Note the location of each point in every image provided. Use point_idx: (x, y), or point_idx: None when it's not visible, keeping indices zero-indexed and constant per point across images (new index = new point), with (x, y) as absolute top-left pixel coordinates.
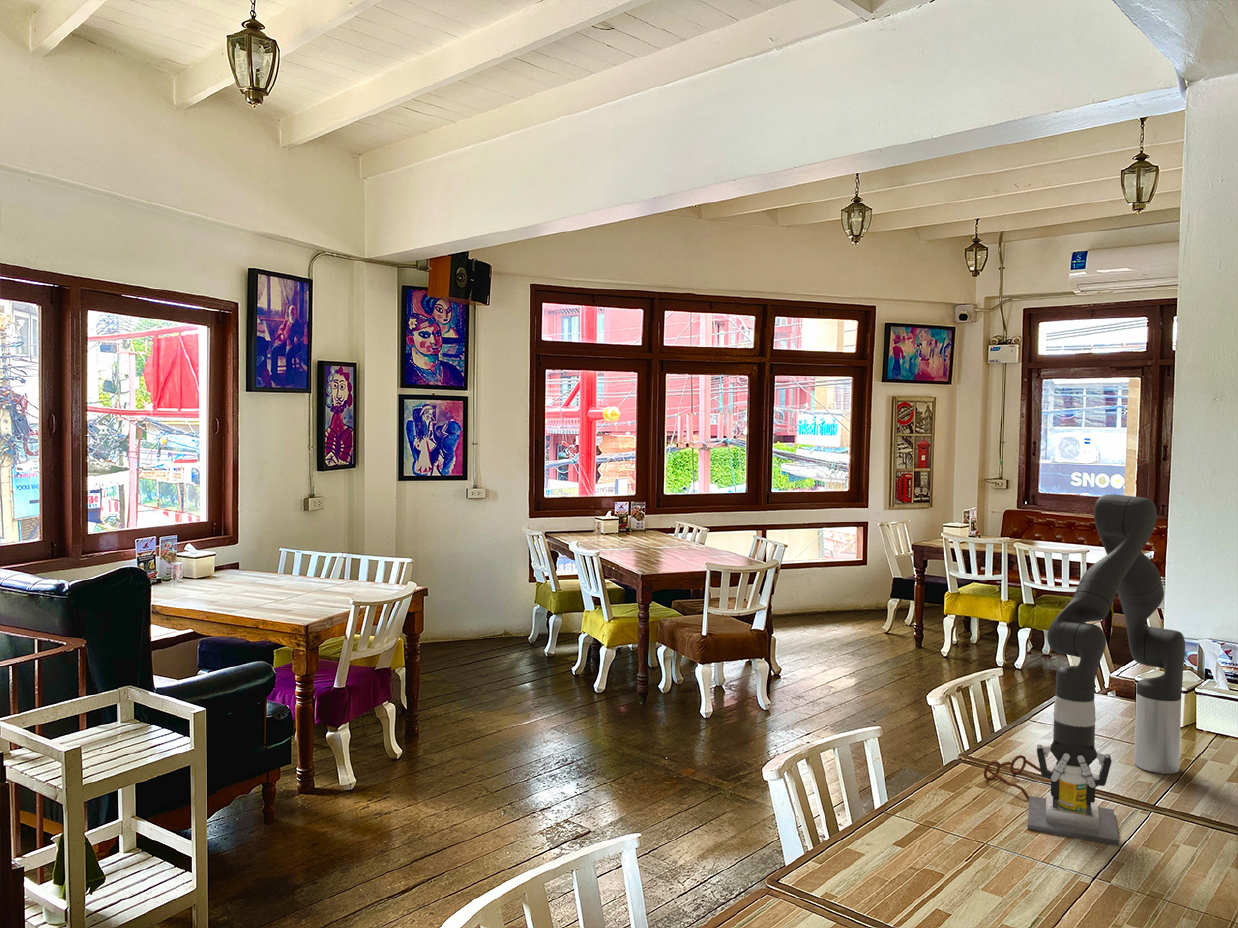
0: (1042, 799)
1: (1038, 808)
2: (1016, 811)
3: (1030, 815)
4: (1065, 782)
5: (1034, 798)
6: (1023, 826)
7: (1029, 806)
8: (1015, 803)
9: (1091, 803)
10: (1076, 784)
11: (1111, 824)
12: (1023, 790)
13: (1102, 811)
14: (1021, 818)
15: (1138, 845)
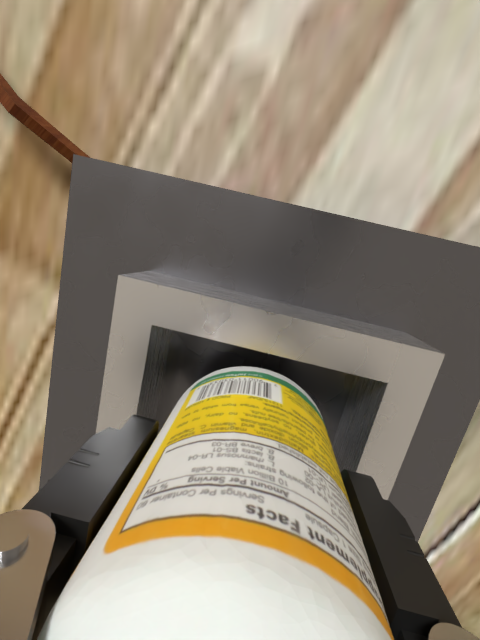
0: (141, 202)
1: (101, 345)
2: (18, 339)
3: (54, 438)
4: None
5: (98, 197)
6: (37, 488)
7: (60, 327)
8: (18, 235)
9: (381, 414)
10: None
11: (422, 472)
12: (27, 125)
13: (449, 310)
14: (35, 412)
15: (461, 587)
